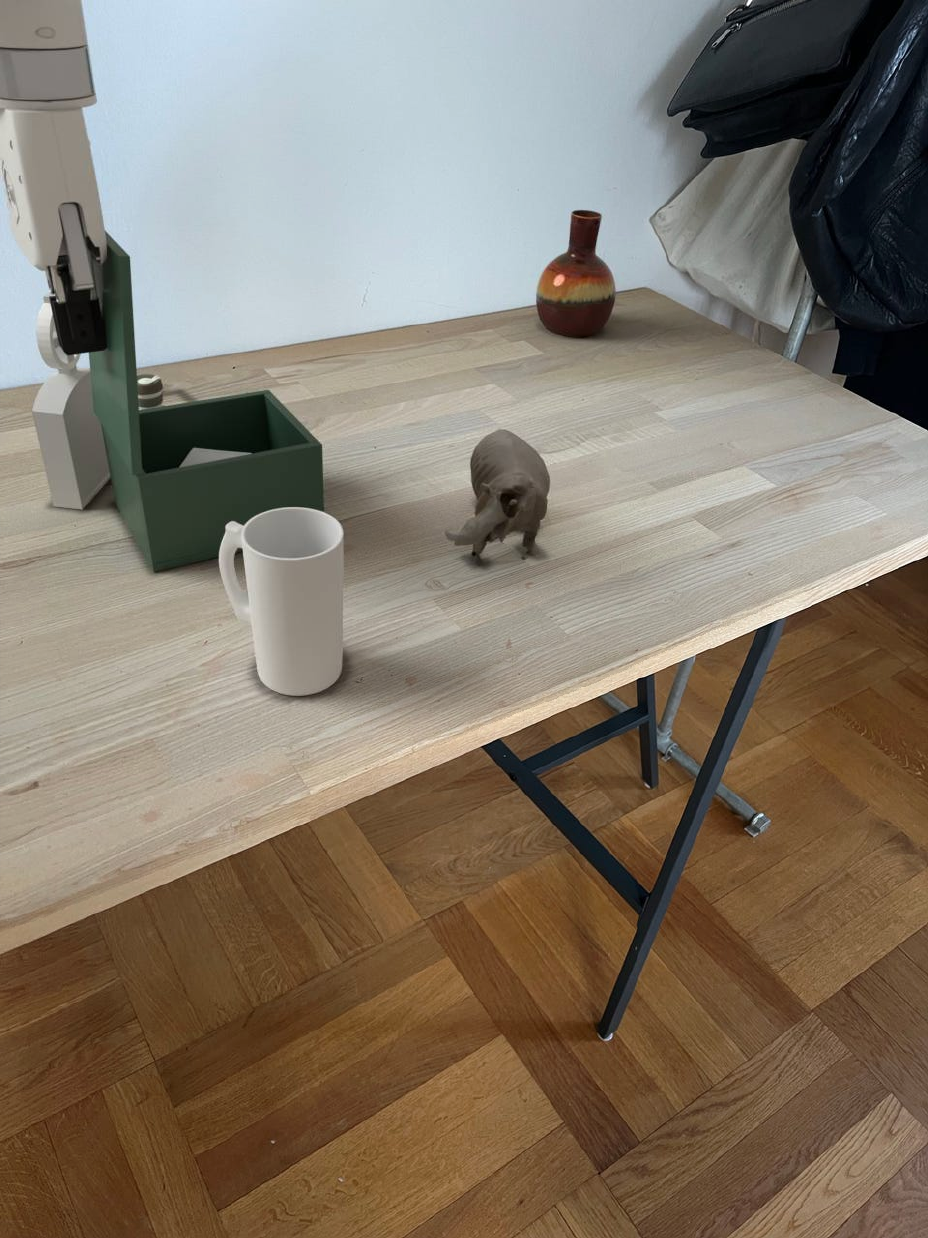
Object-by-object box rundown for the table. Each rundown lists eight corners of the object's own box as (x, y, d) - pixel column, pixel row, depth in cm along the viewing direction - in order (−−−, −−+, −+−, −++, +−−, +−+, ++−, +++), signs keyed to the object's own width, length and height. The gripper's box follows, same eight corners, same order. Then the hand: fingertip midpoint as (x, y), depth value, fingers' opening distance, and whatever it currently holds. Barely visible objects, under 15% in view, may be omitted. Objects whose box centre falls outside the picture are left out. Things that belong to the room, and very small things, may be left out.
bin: (274, 471, 93) (268, 389, 88) (325, 532, 85) (322, 444, 80) (115, 503, 86) (99, 416, 81) (153, 572, 78) (138, 479, 73)
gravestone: (123, 462, 93) (92, 279, 82) (82, 509, 85) (41, 315, 74) (97, 459, 93) (62, 276, 82) (53, 506, 85) (8, 311, 74)
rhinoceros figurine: (560, 472, 92) (555, 389, 77) (546, 603, 87) (538, 540, 73) (482, 468, 93) (463, 385, 79) (465, 596, 89) (442, 533, 75)
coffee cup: (74, 414, 100) (65, 371, 97) (177, 390, 107) (171, 349, 104) (123, 457, 93) (115, 412, 91) (229, 429, 100) (225, 385, 97)
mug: (363, 661, 70) (363, 525, 63) (311, 711, 66) (304, 571, 58) (257, 617, 74) (246, 484, 67) (200, 662, 69) (181, 524, 62)
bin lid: (87, 210, 72) (76, 210, 71) (130, 256, 63) (118, 256, 63) (103, 410, 81) (93, 411, 81) (142, 474, 73) (132, 475, 72)
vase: (560, 345, 127) (575, 227, 118) (518, 318, 134) (529, 205, 125) (625, 336, 131) (644, 221, 122) (580, 311, 139) (596, 201, 130)
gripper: (-48, 59, 64) (13, 323, 75) (-11, 95, 54) (53, 394, 65) (66, 59, 67) (108, 312, 78) (121, 93, 57) (161, 378, 68)
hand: (83, 348), depth 71 cm, fingers closed
